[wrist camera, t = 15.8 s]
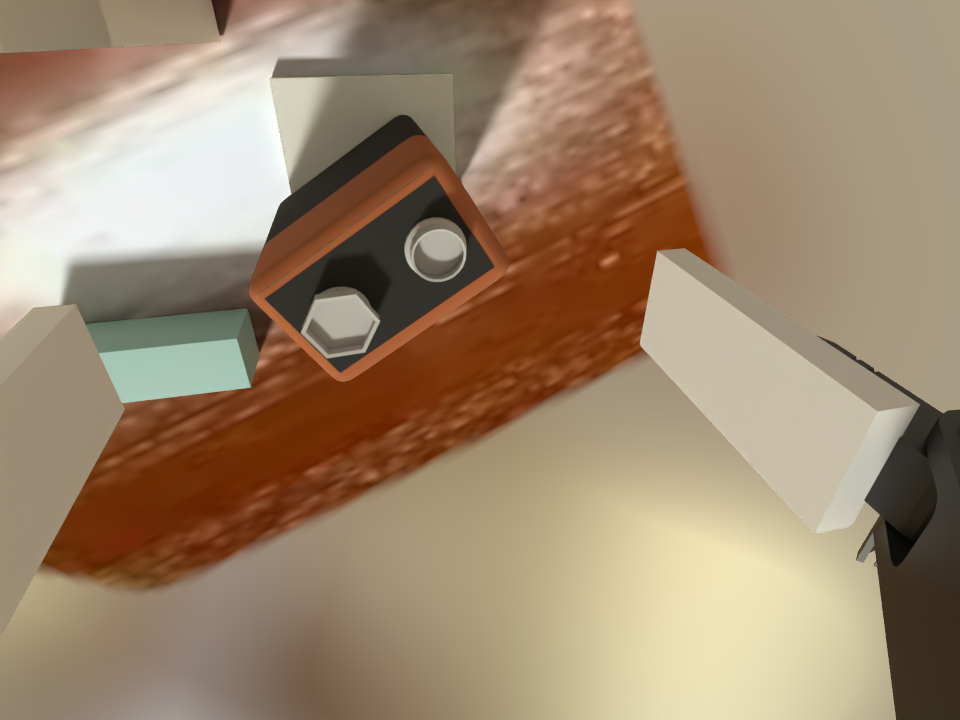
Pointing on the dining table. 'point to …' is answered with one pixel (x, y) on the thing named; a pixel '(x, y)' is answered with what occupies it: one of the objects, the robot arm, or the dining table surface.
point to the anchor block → (177, 354)
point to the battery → (374, 251)
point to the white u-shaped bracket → (103, 24)
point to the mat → (356, 115)
